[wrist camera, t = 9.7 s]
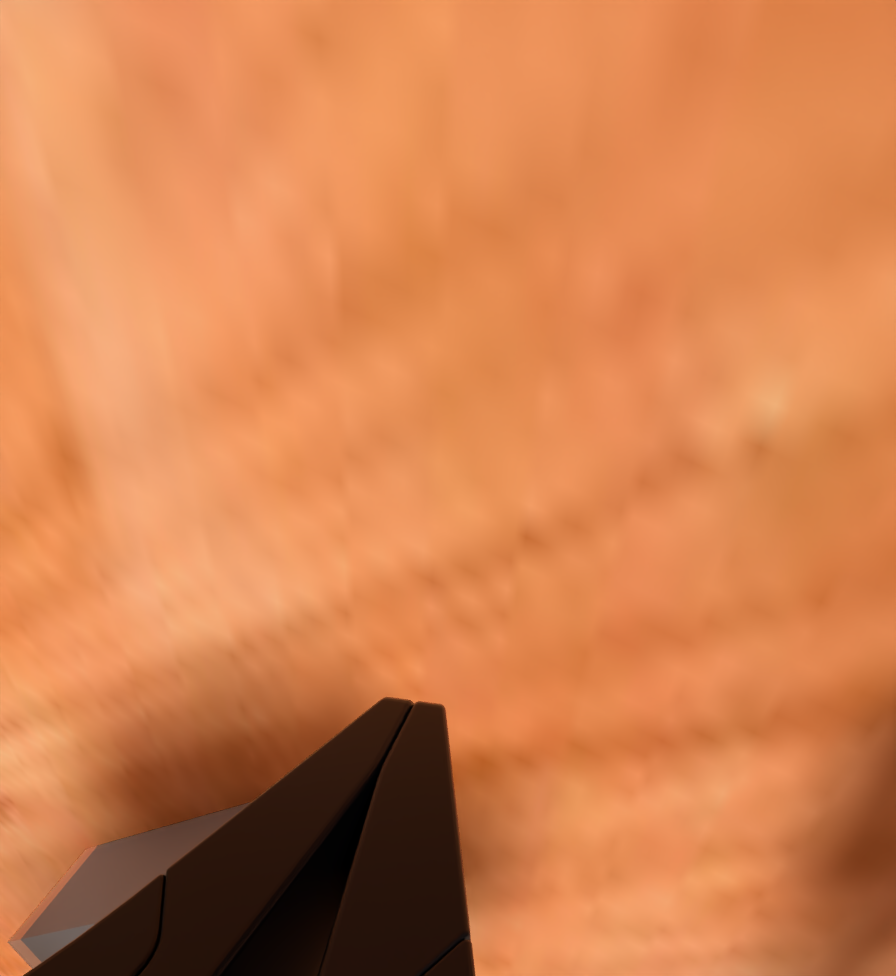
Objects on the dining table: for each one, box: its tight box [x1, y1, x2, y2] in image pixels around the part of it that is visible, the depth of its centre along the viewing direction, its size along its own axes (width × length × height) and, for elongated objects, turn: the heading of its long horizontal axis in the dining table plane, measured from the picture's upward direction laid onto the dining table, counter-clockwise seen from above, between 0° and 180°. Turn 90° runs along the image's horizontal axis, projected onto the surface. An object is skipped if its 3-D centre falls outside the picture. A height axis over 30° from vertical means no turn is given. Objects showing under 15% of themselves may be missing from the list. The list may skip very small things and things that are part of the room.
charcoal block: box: [8, 802, 251, 969], centre depth 30 cm, size 5×5×14 cm
